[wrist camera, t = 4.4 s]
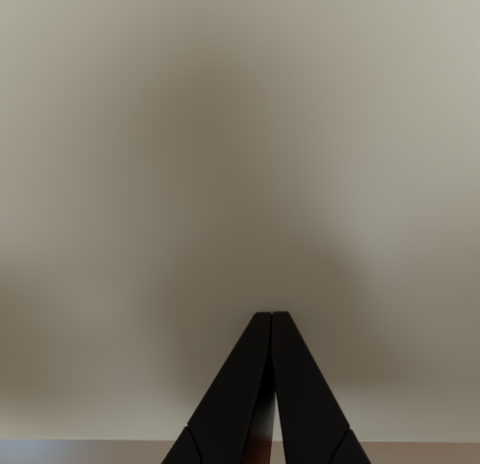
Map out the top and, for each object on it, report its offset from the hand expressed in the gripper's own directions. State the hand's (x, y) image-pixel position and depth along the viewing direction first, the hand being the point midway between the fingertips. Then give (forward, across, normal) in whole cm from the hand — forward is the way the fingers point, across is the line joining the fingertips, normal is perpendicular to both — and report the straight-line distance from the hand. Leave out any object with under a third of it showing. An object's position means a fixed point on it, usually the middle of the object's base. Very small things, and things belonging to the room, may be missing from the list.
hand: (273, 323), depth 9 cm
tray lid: (+2, 0, -3) cm, 4 cm away
